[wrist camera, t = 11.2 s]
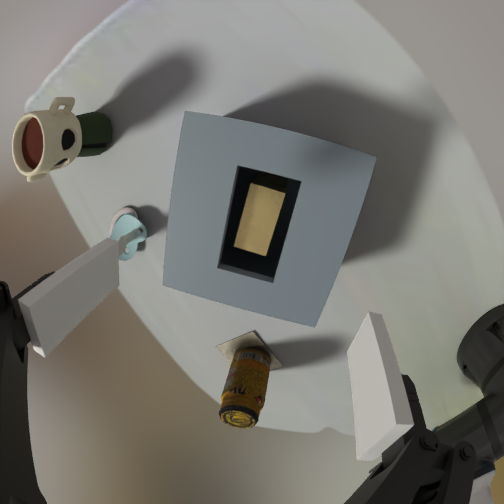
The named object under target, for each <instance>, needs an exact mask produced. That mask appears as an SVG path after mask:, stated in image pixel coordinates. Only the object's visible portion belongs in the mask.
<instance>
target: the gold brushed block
mask: <svg viewBox="0 0 504 504" xmlns="http://www.w3.org/2000/svg"><path fill="white" fill-rule="evenodd" d="M287 184H288V178H284V177H281V176H278V175H275V174H271V173H268V172H264V171H262V172H261V173H260V174H259V175H258V176H257V177H256V178H255V179H254V180H253V181H252V182H251V184H250V188H249V192H248V195H247V199H246V203H245V206H244V210H243V214H242V217H241V221H240V225H239V229H238V232H237V236H236V240H235V244H234V247H238V248H241V249H244V250H247V251H250V252H254V253H257V254H260V255H263V256H266V254H267V250H268V247H269V244H270V241H271V238H272V235H273V232H274V229H275V225H276V222H277V219H278V216H279V213H280V210H281V206H282V203H283V200H284V197H285V194H286V189H287Z"/></svg>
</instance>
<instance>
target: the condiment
mask: <svg viewBox="0 0 504 504" xmlns="http://www.w3.org/2000/svg"><path fill="white" fill-rule="evenodd" d="M216 347H217V348H218V350H219V351H220V352H221V353H222V354H223V355H224V356H225V357H226V358H227V359H228V360H229V361H230V362H231V366H230V370H229V373H228V377H227V380H226V383H225V386H224V390H223V393H222V396H221V401H222V404H221V410H220V411H219V415H220V418H221V420H222V421H223V422H225V423H226V424H228V425H230V426H233V427H237V428H249V427H252V426H254V425H255V424H256V423H257V422H258V418H259V415H260V411H261V410H262V408H263V406H264V402H265V395H266V391H267V383H268V378H269V372H270V370H273V369H276V368H279V367H282V366H283V365H282V364H281V363H280V362H279V361H278V359H277V358H276V357H275V356H274V355H273V353H271V351H270V350H269V349H268V348H267V347H266V346H265V345H264V344H263V342H262V341H261V340H260V339H259V338H258V337H257V336H256V334H255V333H254V332H250V333H247V334H245V335H242V336H240V337H237V338H235V339H233V340H230V341H228V342H226V343H223V344H221V345H218V346H216ZM234 349H235V351H234Z"/></svg>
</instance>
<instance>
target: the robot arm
mask: <svg viewBox="0 0 504 504" xmlns="http://www.w3.org/2000/svg"><path fill="white" fill-rule="evenodd" d="M118 286H119V241H116V240H113V239H110V238H106V239H105V240H103V241H102V242H100V243H98V244H97V245H95V246H94V247H92V248H91V249H89V250H88V251H86V252H85V253H83V254H81V255H80V256H79V257H77V258H76V259H74V260H73V261H71V262H70V263H68V264H67V265H65V266H64V267H62V268H61V269H59V270H58V271H57V272H51V273H49V274H46V275H44V276H42V277H41V278H40V279H38V281H35V282H34V283H33V284H32V285H30V286H29V287H27V288H26V289H24V290H23V291H22V292H21V293H19V294H18V295H17V296H15V297H14V298H11V295H10V291H9V287H8V285H7V283H5V282H4V281H0V504H47V502H46V500H45V498H44V496H43V495H42V494H41V492H40V490H39V487H38V484H37V479H36V474H35V468H34V463H33V457H32V450H31V442H30V433H29V421H28V404H27V365H28V364H27V363H28V347H27V344H28V343H29V342H30V341H31V343H32V345H33V348H34V350H35V351H36V352H38V353H39V354H41V355H42V356H43V357H45V358H46V357H47V356H48V355H49V354H50V353H51V352H52V351H53V350H54V348H55V347H56V346H57V345H58V344H59V343H60V342H61V341H62V340H63V339H64V338H65V337H66V336H67V335H68V334H69V333H70V332H71V331H72V330H73V329H74V328H75V327H76V326H77V325H78V324H79V323H80V322H81V321H82V320H83V319H84V318H85V317H86V316H87V315H88V314H89V313H90V312H91V311H92V310H93V309H94V308H95V307H96V306H97V305H99V304H100V303H101V302H102V301H103V300H104V299H105V298H106V297H107V296H108V295H109V294H110V293H111V292H112V291H113V290H114V289H116V288H117V287H118ZM347 356H348V364H349V372H350V380H351V389H352V399H353V409H354V421H355V435H356V452H357V460H375V459H376V458H377V457H378V456H380V455H381V454H382V462H381V463H379V464H378V465H377V466H376V467H374V468H373V469H371V470H370V471H369V473H371V472H372V473H371V474H370V476H369V477H368V478H367V479H366V480H365V481H364V482H363V484H362V485H361V486H360V487H359V488H358V489H357V490H356V492H354V494H353V495H352V496H351V497H350V498H349V499H348V500H347V501H346V502H345V503H344V504H493V500H492V495H491V490H490V483H491V481H492V479H493V477H494V475H495V473H496V469H495V465H494V462H495V461H497V460H498V459H500V458H501V457H503V456H504V305H503V306H499V307H497V308H495V309H493V310H491V311H489V312H488V313H486V314H485V315H484V316H482V317H481V318H480V319H479V320H478V321H477V322H476V323H475V324H474V325H473V326H472V327H471V329H470V330H469V331H468V332H467V334H466V335H465V337H464V338H463V340H462V342H461V344H460V346H459V349H458V353H457V362H458V365H459V367H460V369H461V371H462V372H463V374H464V375H465V376H466V377H468V378H469V379H470V380H471V381H472V382H473V383H475V384H476V385H477V386H478V387H479V388H480V389H481V391H482V393H483V395H484V398H483V399H481V400H480V401H478V402H477V403H475V404H474V405H472V406H471V407H470V408H468V409H467V410H465V411H463V412H462V413H460V414H459V415H457V416H456V417H454V418H452V419H451V420H449V421H447V422H446V423H444V424H442V425H440V426H437V427H435V428H434V429H433V430H432V431H430V430H428V429H427V428H426V424H425V420H424V417H423V413H422V409H421V406H420V403H419V399H418V395H417V392H416V388H415V385H414V383H413V382H412V380H411V379H410V377H409V376H408V375H402V374H401V373H400V369H399V366H398V362H397V359H396V356H395V353H394V350H393V347H392V343H391V340H390V337H389V334H388V332H387V329H386V326H385V323H384V320H383V317H382V315H381V314H377V313H373V312H369V311H368V313H367V315H366V317H365V319H364V321H363V323H362V325H361V327H360V329H359V331H358V332H357V334H356V336H355V338H354V340H353V342H352V343H351V345H350V347H349V349H348V351H347Z"/></svg>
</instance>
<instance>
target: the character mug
mask: <svg viewBox="0 0 504 504" xmlns="http://www.w3.org/2000/svg"><path fill="white" fill-rule="evenodd" d="M74 103H75V98H73V97H57V98H55V99H54V100H53V102H52V104H51V107H50V109H49V110H43V111H33V112H29V113H26V114H24V115H23V116H22V117H21V118H20V119H19V121H18V122H17V125H16V127H15V130H14V133H13V138H12V154H13V159H14V163H15V165H16V167H17V169H18V170H19V172H20V173H22V174H23V175H25V176H27V181H28V182H33V181H36V180H39V179H42V178H44V177H45V176H46V175H47V172H49V171H52V170H57V169H61V168H63V167H65V166H67V165H68V164H70V163H71V162H72V161H73V160H74V159H75V158H76V157H86V156H95V155H100V154H101V153H103V152H104V151H105V150H106V149H107V148H101V146H102V145H103V144H104V143H106V142H110V141H111V136H112V128H111V124H110V120H109V119H108V118H107V117H106V116H105V115H104V114H102V113H99V112H91V113H86V114H82V115H77V116H75V115H74V114H73V113H72V112H71V110H72V108H73V106H74ZM60 105H65V107H64V109H60V110H58V108H59V106H60Z"/></svg>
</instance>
